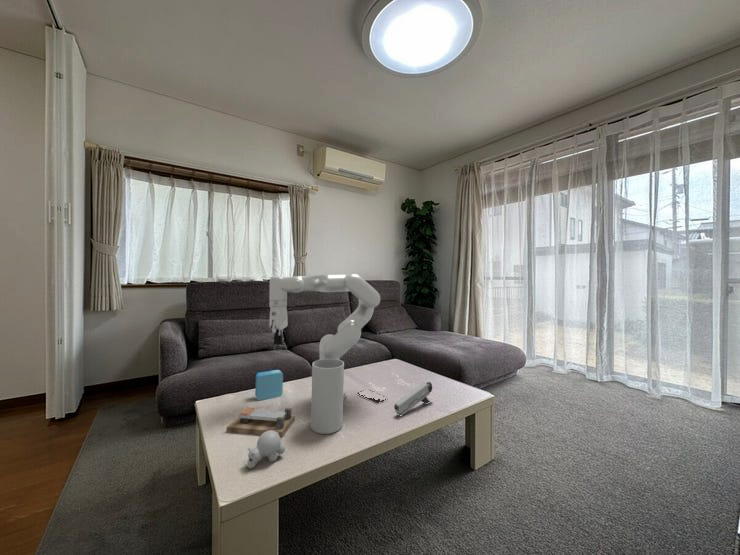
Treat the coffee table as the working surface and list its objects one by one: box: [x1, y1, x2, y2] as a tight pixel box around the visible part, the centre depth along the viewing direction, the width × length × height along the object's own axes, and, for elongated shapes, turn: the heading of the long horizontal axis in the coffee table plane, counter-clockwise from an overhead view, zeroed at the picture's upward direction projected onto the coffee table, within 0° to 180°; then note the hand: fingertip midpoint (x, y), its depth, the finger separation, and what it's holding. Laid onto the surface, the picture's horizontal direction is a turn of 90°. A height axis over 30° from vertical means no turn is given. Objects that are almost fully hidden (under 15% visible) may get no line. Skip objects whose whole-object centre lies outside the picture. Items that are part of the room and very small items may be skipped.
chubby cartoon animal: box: [243, 430, 286, 470], centre depth 89 cm, size 7×12×8 cm, turn 135°
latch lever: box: [239, 406, 287, 421], centre depth 109 cm, size 17×5×2 cm, turn 84°
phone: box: [356, 389, 386, 404], centre depth 139 cm, size 8×1×15 cm
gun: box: [393, 381, 433, 416], centre depth 127 cm, size 2×25×10 cm, turn 131°
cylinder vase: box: [310, 359, 345, 435], centre depth 111 cm, size 12×12×25 cm
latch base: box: [225, 407, 296, 438], centre depth 109 cm, size 22×12×6 cm, turn 84°
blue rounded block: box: [254, 369, 284, 401], centre depth 136 cm, size 12×4×12 cm, turn 122°
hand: (278, 343), depth 126 cm, fingers closed
